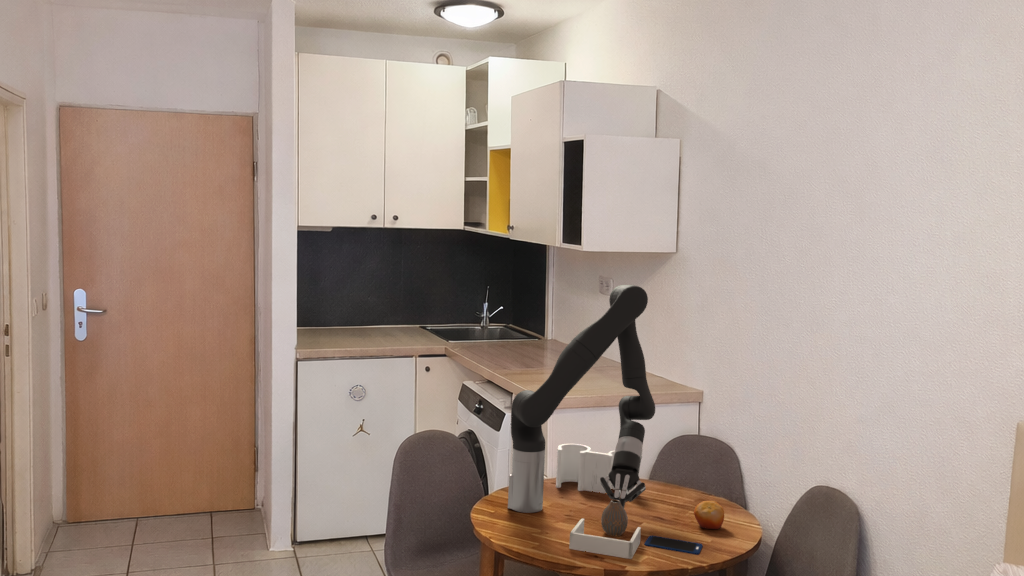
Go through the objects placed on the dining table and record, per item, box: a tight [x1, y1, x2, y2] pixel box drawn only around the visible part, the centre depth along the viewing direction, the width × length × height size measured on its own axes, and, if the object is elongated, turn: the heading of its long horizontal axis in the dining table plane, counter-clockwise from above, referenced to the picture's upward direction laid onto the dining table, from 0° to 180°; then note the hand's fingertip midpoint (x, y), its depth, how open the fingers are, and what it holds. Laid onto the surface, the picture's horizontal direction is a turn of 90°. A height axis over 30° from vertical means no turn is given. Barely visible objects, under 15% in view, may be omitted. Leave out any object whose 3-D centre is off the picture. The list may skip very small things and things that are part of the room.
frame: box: [568, 518, 642, 560], centre depth 207 cm, size 16×12×4 cm
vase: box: [600, 499, 629, 537], centre depth 216 cm, size 7×7×9 cm
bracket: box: [555, 443, 636, 494], centre depth 255 cm, size 25×10×12 cm, turn 69°
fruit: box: [693, 500, 725, 530], centre depth 225 cm, size 8×8×8 cm
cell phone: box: [643, 535, 703, 556], centre depth 210 cm, size 7×14×1 cm, turn 69°
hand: (617, 513), depth 220 cm, fingers closed
